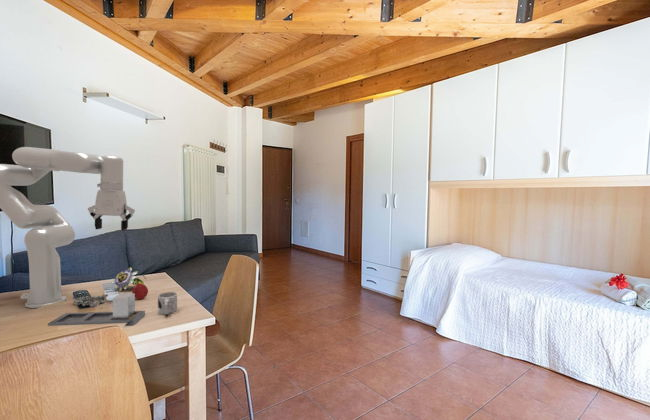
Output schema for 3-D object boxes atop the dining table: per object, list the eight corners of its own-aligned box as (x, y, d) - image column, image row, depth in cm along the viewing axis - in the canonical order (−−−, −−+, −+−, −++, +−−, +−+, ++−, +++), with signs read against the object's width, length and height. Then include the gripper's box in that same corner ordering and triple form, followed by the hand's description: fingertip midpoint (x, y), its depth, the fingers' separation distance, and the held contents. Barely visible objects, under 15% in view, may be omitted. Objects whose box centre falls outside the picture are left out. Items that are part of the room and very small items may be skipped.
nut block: (113, 320, 110) (112, 298, 110) (120, 314, 115) (120, 293, 114) (128, 320, 111) (127, 298, 110) (134, 314, 116) (134, 293, 115)
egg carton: (109, 304, 129) (109, 294, 129) (92, 310, 122) (92, 300, 122) (88, 301, 131) (88, 291, 131) (70, 307, 124) (70, 297, 124)
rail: (48, 328, 105) (47, 323, 105) (66, 317, 114) (66, 313, 114) (133, 325, 109) (133, 320, 109) (144, 314, 118) (144, 310, 118)
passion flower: (121, 302, 145) (104, 282, 143) (137, 290, 155) (121, 272, 154) (138, 290, 143) (120, 270, 141) (153, 279, 153) (137, 260, 151)
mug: (159, 309, 124) (159, 292, 124) (177, 307, 126) (177, 291, 126) (155, 319, 115) (155, 301, 114) (175, 316, 117) (175, 299, 117)
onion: (151, 298, 136) (150, 280, 135) (142, 303, 130) (141, 284, 130) (138, 297, 136) (138, 279, 136) (129, 302, 131) (128, 283, 130)
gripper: (82, 185, 121) (82, 229, 122) (129, 188, 123) (129, 231, 124) (94, 186, 128) (94, 227, 129) (139, 188, 130) (138, 229, 131)
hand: (111, 229), depth 126 cm, fingers open, 9 cm apart
